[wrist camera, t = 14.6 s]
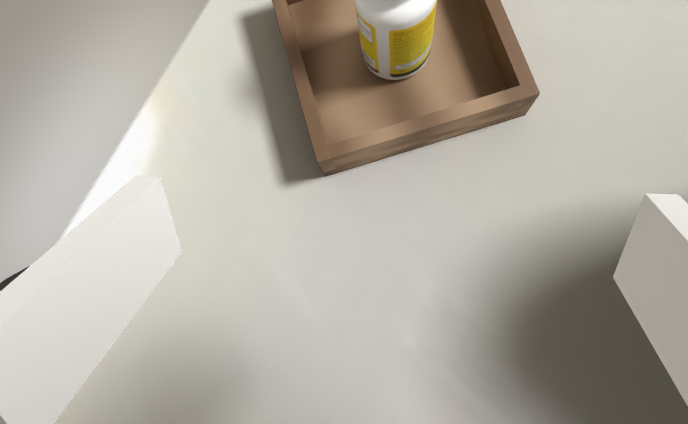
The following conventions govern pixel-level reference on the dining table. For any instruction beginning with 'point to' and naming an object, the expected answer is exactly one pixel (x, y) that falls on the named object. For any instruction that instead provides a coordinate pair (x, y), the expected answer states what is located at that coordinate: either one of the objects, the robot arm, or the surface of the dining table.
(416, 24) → the supplement bottle
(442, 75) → the walnut tray
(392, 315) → the dining table surface
